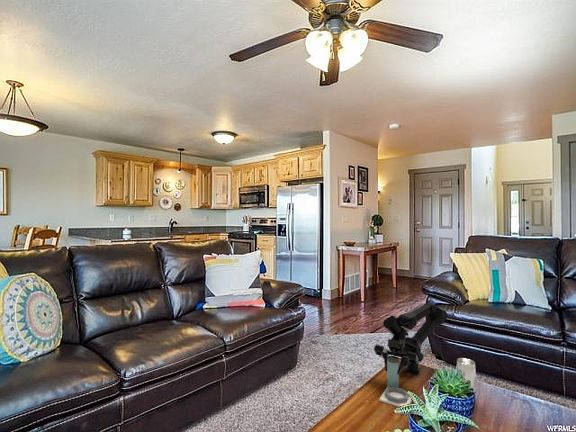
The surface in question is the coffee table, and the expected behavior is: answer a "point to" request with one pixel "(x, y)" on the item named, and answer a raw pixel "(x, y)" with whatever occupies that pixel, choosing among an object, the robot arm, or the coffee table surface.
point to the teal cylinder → (392, 371)
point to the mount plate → (395, 397)
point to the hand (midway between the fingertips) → (392, 372)
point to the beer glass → (467, 369)
